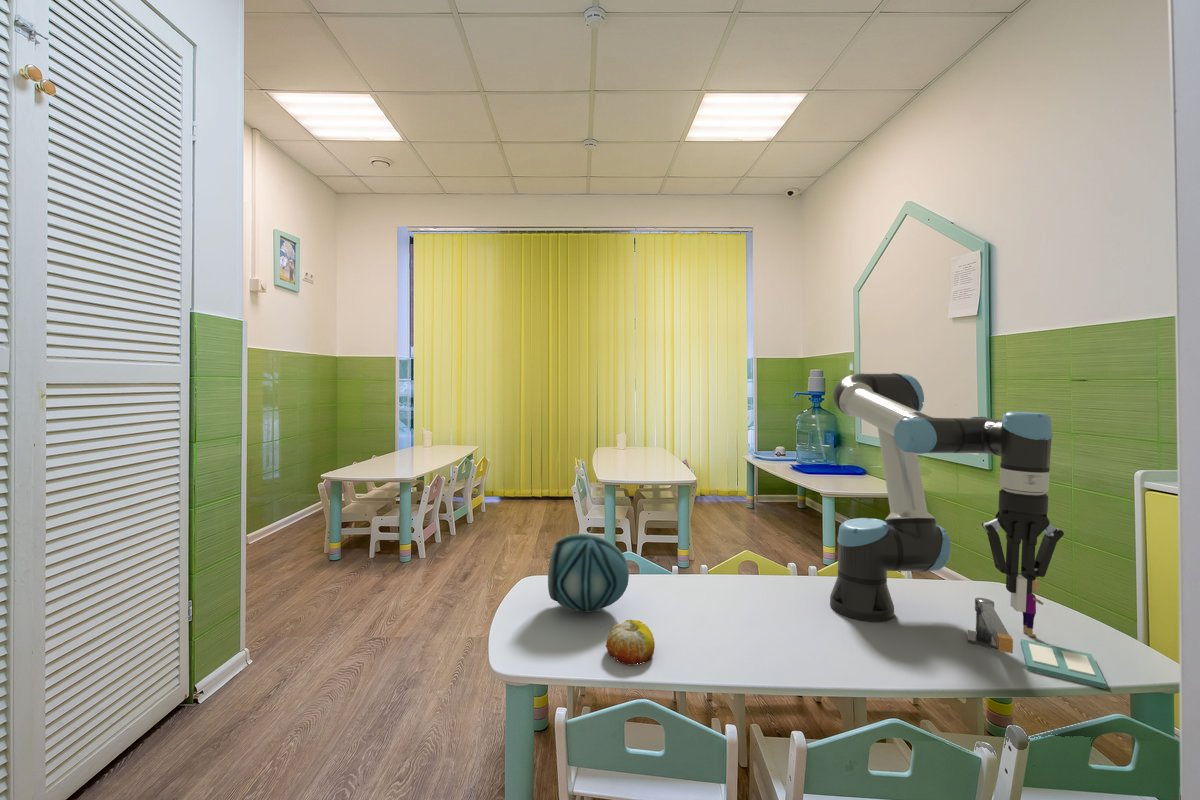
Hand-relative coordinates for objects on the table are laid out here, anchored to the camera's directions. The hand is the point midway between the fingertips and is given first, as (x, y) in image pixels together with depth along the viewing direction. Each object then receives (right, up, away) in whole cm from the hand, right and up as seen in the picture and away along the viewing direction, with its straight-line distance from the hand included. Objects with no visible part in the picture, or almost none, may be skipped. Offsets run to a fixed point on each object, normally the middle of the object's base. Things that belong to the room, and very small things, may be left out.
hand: (1017, 608), depth 104 cm
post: (+6, -15, +17) cm, 23 cm away
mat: (+15, -15, +8) cm, 22 cm away
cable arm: (+2, -8, +9) cm, 12 cm away
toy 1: (-85, -14, +33) cm, 92 cm away
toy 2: (+18, -15, +21) cm, 32 cm away
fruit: (-76, -15, +11) cm, 78 cm away
